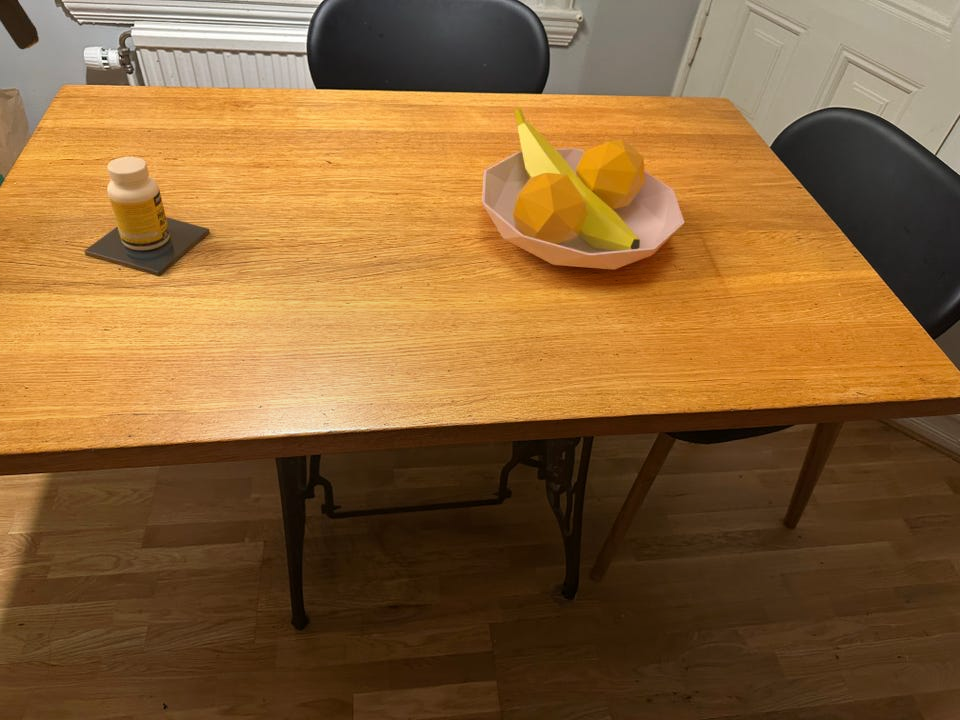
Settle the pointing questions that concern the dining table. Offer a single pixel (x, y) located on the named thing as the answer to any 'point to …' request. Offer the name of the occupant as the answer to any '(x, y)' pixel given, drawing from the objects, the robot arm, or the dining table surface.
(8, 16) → the robot arm
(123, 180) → the supplement bottle
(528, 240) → the fruit bowl
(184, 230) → the coaster
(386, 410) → the dining table surface
